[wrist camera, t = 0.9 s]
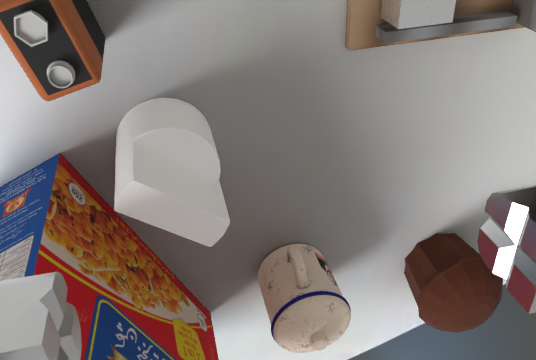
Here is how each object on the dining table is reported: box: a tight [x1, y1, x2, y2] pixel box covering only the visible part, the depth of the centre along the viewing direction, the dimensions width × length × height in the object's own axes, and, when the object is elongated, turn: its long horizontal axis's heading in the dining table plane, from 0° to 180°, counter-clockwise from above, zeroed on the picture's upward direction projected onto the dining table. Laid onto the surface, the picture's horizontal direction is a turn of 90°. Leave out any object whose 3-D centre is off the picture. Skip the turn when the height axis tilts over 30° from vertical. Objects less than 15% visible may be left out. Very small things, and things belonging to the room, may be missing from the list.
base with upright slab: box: [114, 97, 230, 247], centre depth 43 cm, size 9×9×12 cm
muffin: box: [404, 233, 503, 332], centre depth 63 cm, size 12×11×10 cm
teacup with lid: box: [258, 244, 351, 353], centre depth 56 cm, size 12×9×12 cm
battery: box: [0, 0, 105, 101], centre depth 35 cm, size 4×7×10 cm, turn 16°
